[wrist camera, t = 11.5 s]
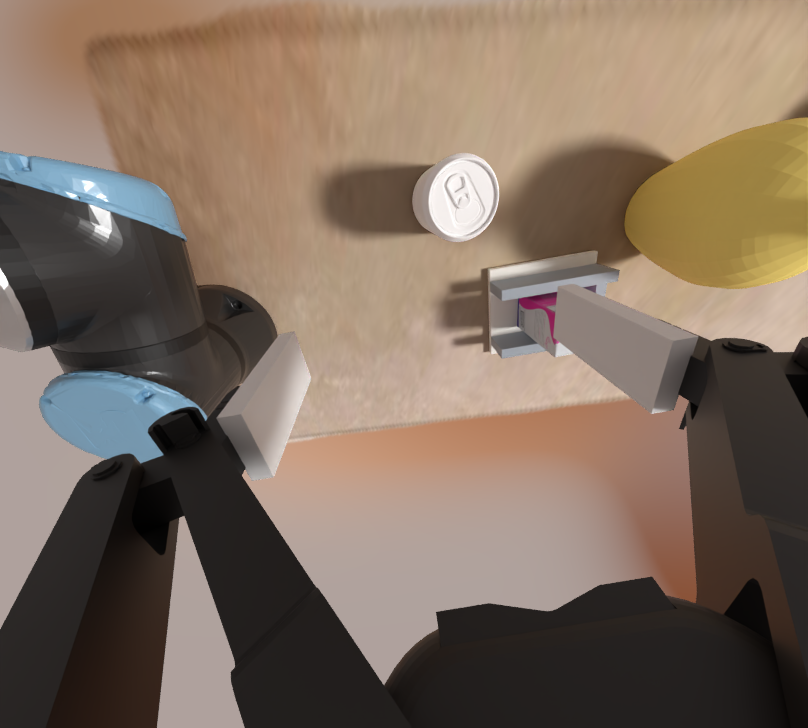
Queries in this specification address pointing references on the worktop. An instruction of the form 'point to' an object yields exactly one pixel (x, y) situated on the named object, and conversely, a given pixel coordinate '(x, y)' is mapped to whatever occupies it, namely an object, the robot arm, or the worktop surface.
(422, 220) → the beverage can
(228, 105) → the worktop surface
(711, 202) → the vase
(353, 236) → the worktop surface
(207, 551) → the robot arm
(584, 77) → the worktop surface
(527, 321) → the supplement box
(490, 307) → the slot cradle
